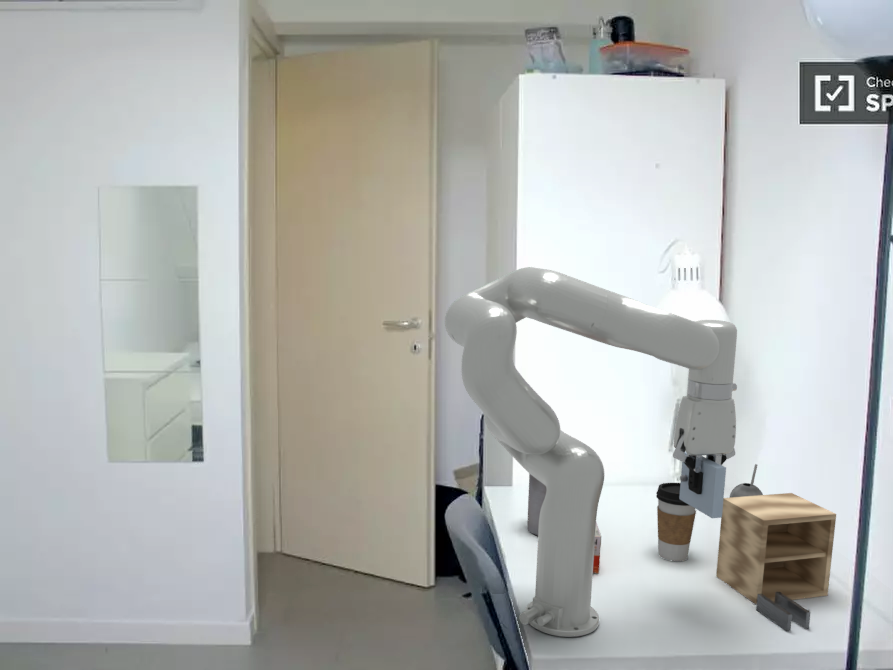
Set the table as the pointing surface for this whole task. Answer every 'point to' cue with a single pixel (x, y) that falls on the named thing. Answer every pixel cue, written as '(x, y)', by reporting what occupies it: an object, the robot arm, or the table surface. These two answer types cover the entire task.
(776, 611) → the hinge clips
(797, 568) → the cabinet
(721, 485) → the door panel
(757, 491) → the beverage cup
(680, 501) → the coffee cup
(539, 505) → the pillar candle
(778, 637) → the table surface
